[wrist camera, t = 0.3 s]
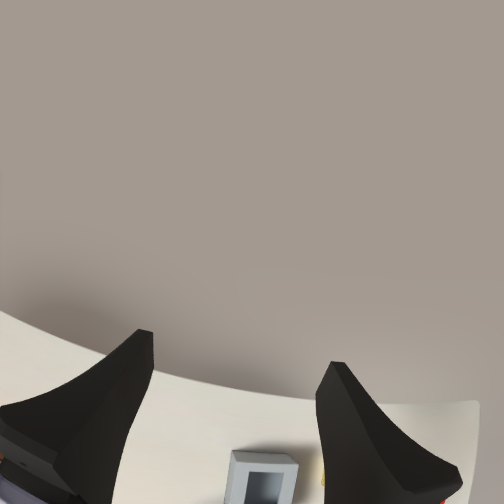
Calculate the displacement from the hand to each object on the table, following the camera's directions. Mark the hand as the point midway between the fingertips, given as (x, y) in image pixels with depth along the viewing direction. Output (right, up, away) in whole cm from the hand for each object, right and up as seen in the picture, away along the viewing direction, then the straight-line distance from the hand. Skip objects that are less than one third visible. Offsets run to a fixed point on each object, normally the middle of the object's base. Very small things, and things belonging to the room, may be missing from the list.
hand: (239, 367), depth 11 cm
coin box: (+1, -28, +22) cm, 36 cm away
